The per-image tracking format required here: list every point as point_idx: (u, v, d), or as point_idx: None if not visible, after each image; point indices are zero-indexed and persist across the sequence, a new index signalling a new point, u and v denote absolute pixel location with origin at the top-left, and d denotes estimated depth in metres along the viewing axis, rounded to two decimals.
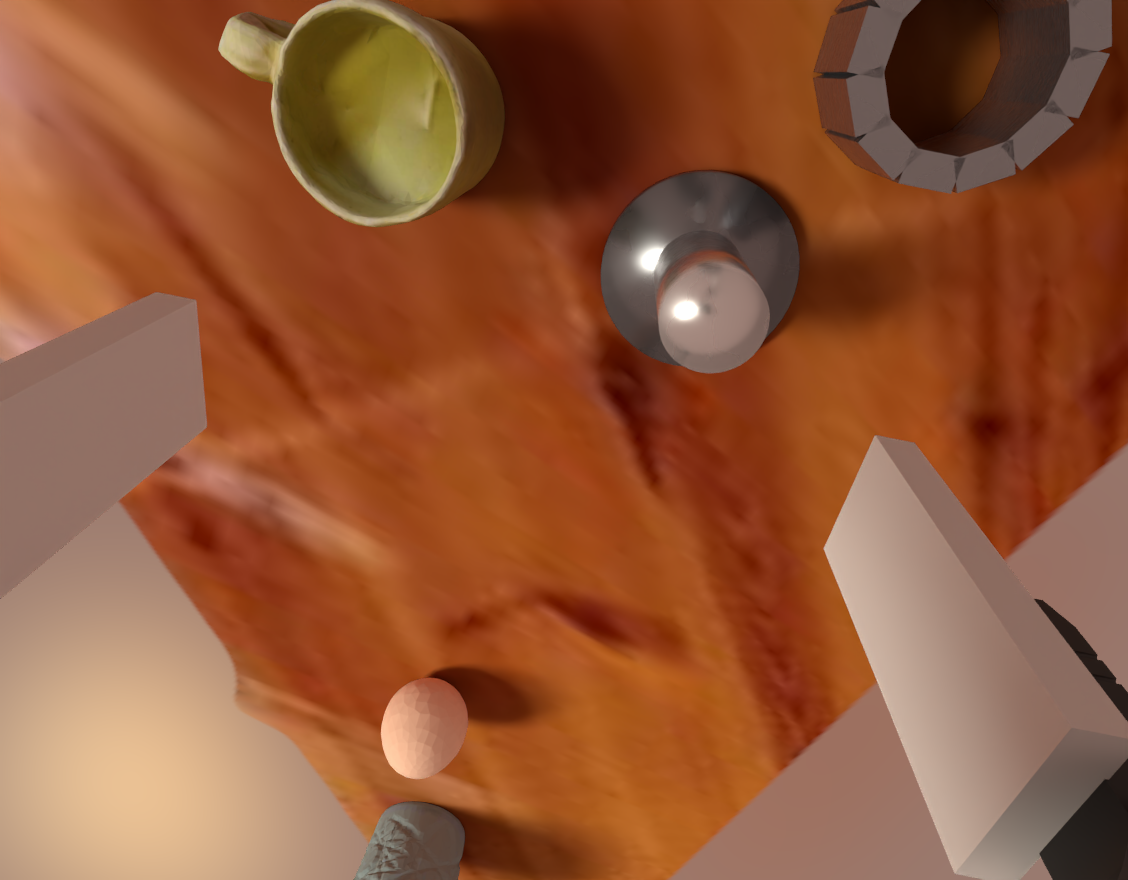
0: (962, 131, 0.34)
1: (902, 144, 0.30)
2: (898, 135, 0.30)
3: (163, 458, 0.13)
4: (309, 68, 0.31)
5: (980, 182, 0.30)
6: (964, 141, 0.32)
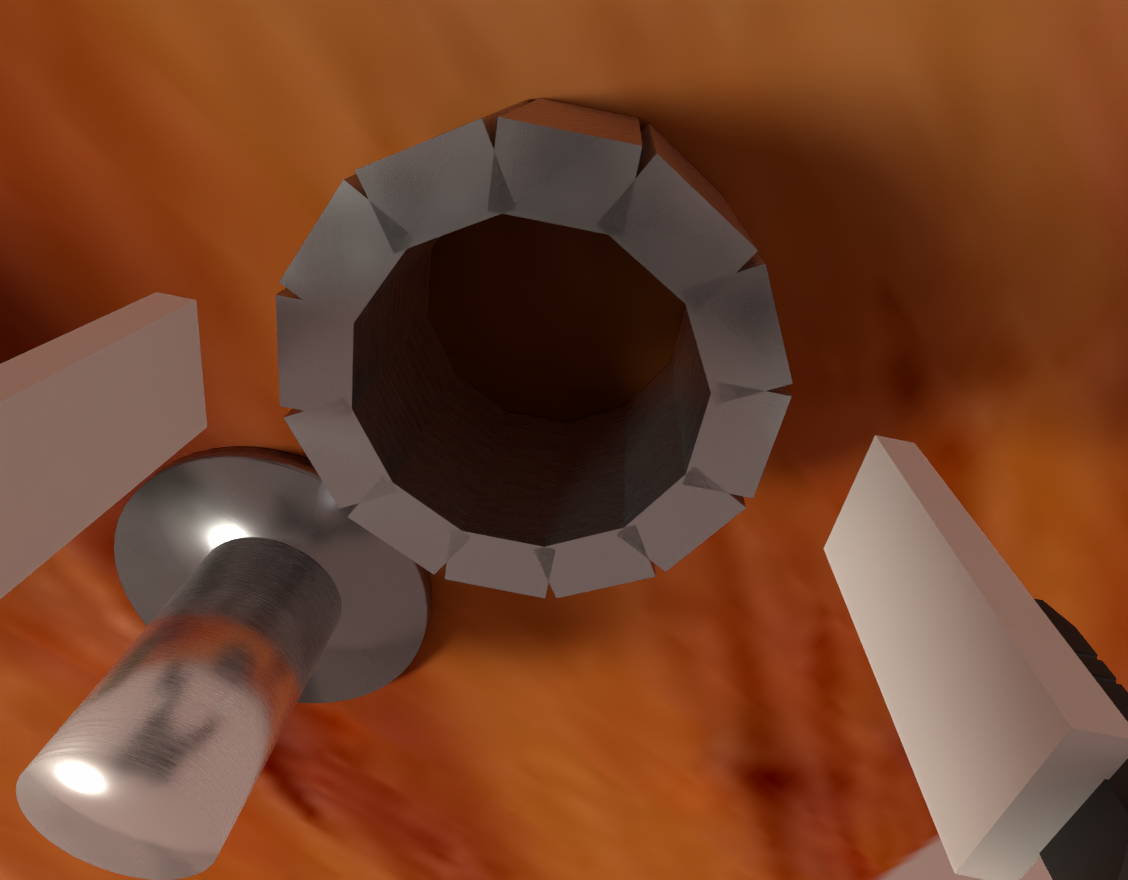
0: (627, 424, 0.19)
1: (430, 523, 0.15)
2: (417, 509, 0.15)
3: (163, 458, 0.13)
4: None
5: (593, 585, 0.16)
6: (601, 470, 0.17)
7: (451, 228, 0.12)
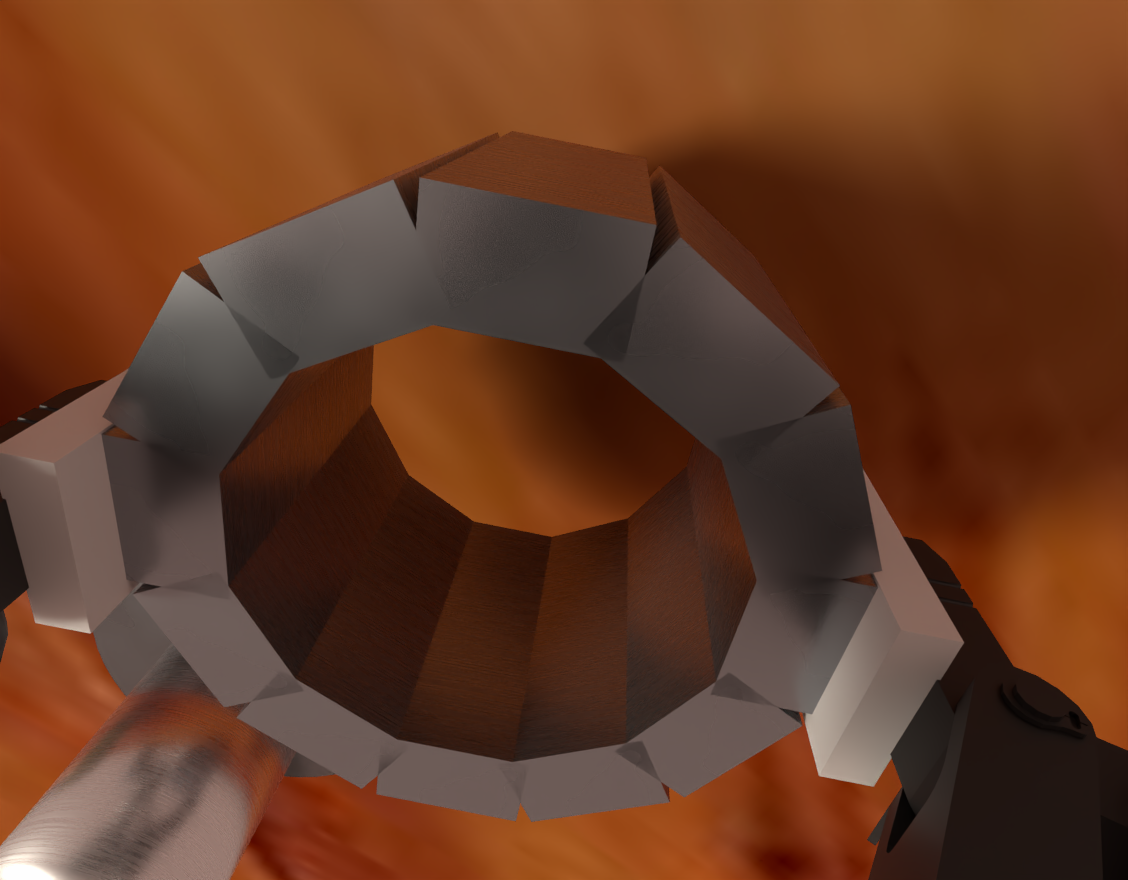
0: (630, 551, 0.15)
1: (353, 728, 0.11)
2: (333, 712, 0.11)
3: None
4: None
5: (583, 809, 0.11)
6: (595, 626, 0.13)
7: (355, 345, 0.08)
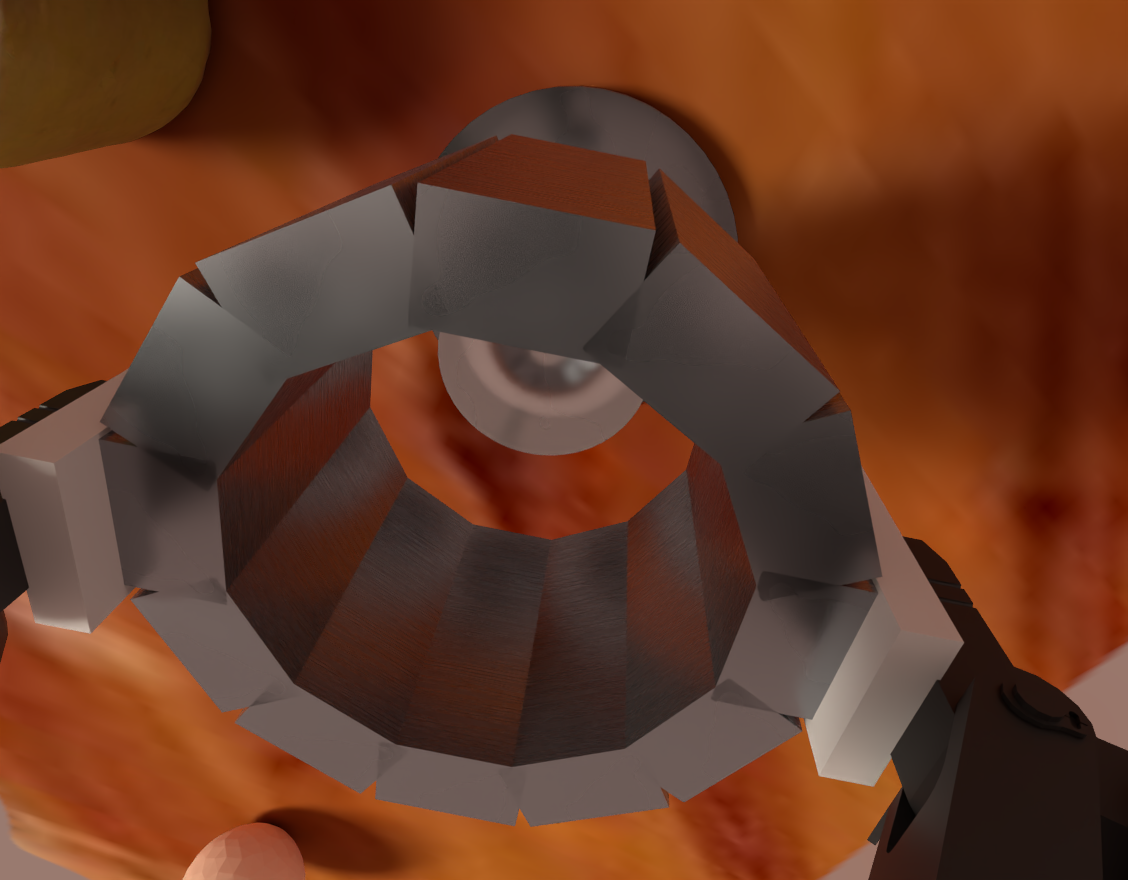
0: (630, 554, 0.14)
1: (351, 733, 0.11)
2: (331, 717, 0.11)
3: None
4: None
5: (582, 815, 0.11)
6: (595, 630, 0.13)
7: (353, 350, 0.08)
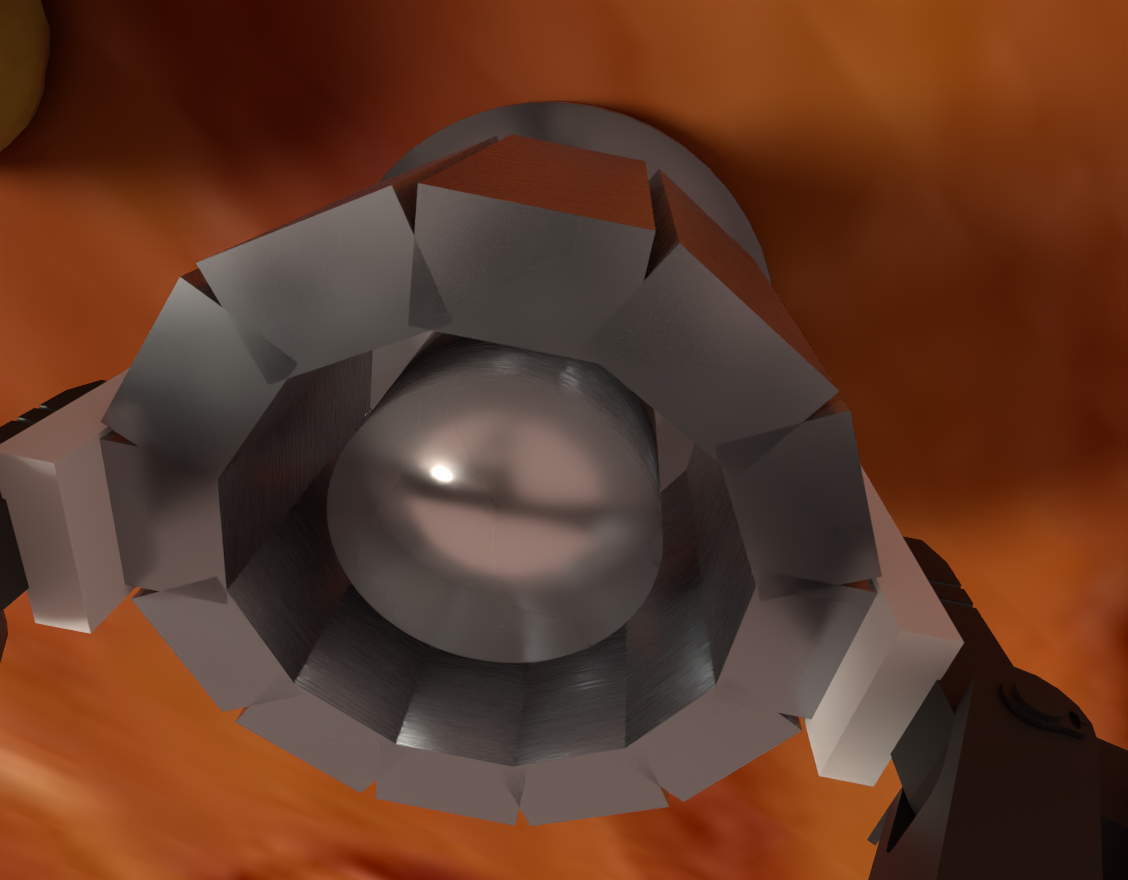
0: None
1: (352, 733, 0.11)
2: (332, 717, 0.11)
3: None
4: None
5: (582, 814, 0.11)
6: None
7: (354, 350, 0.08)
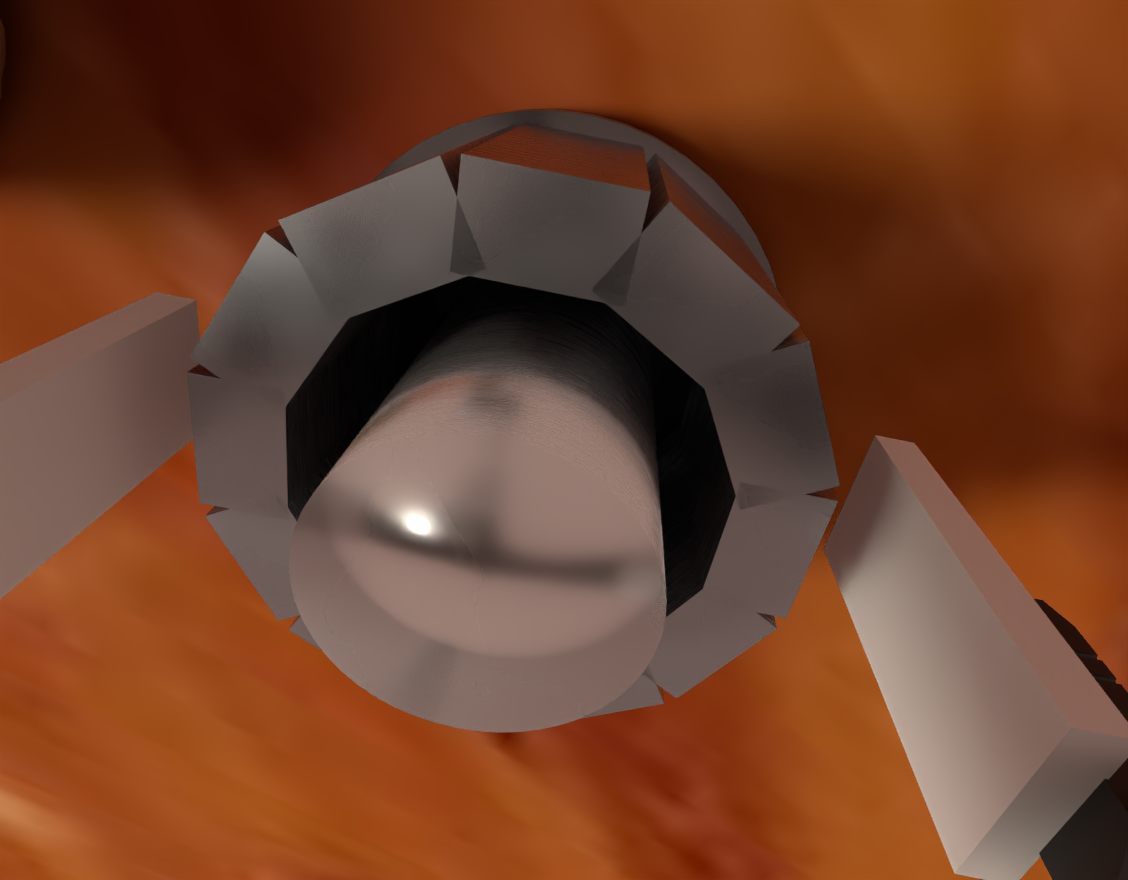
0: None
1: None
2: None
3: (163, 458, 0.13)
4: None
5: None
6: None
7: (404, 293, 0.09)
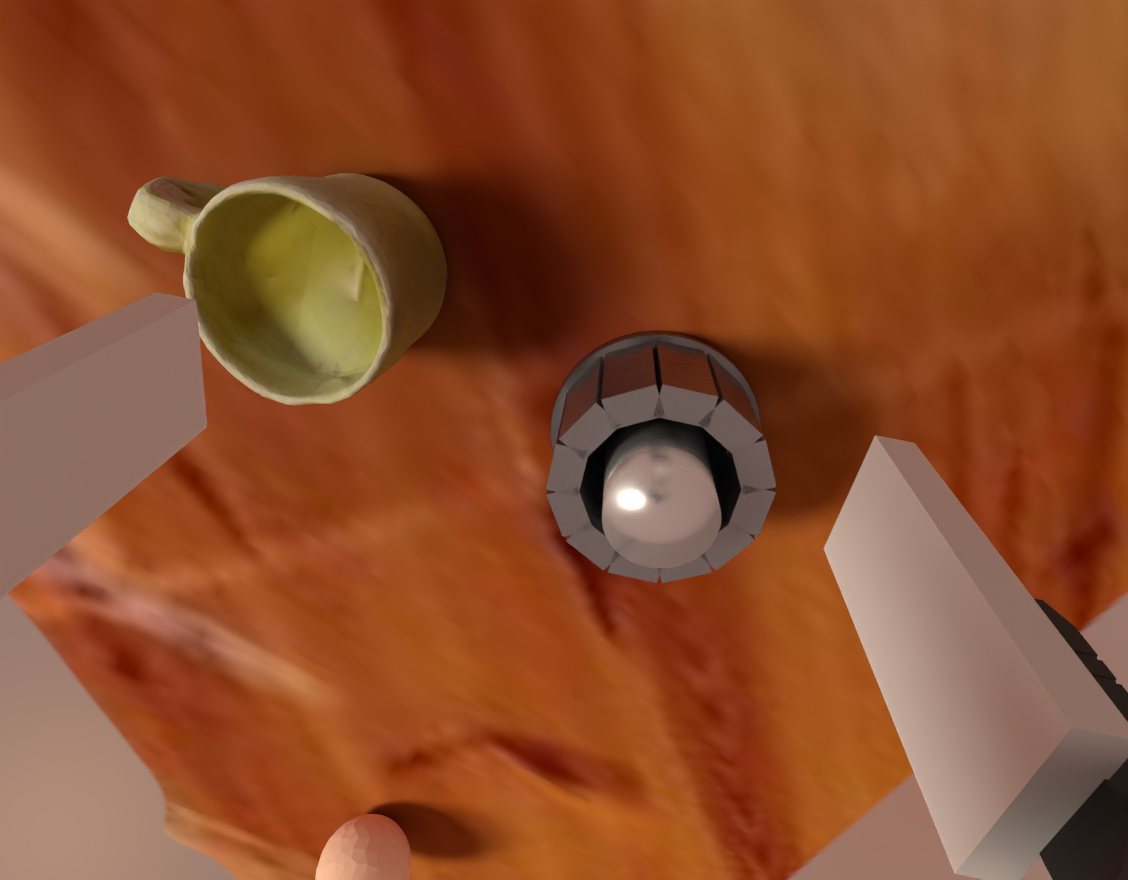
0: None
1: (606, 544, 0.32)
2: (601, 538, 0.32)
3: (163, 458, 0.13)
4: (227, 238, 0.29)
5: (681, 576, 0.33)
6: None
7: (637, 422, 0.29)
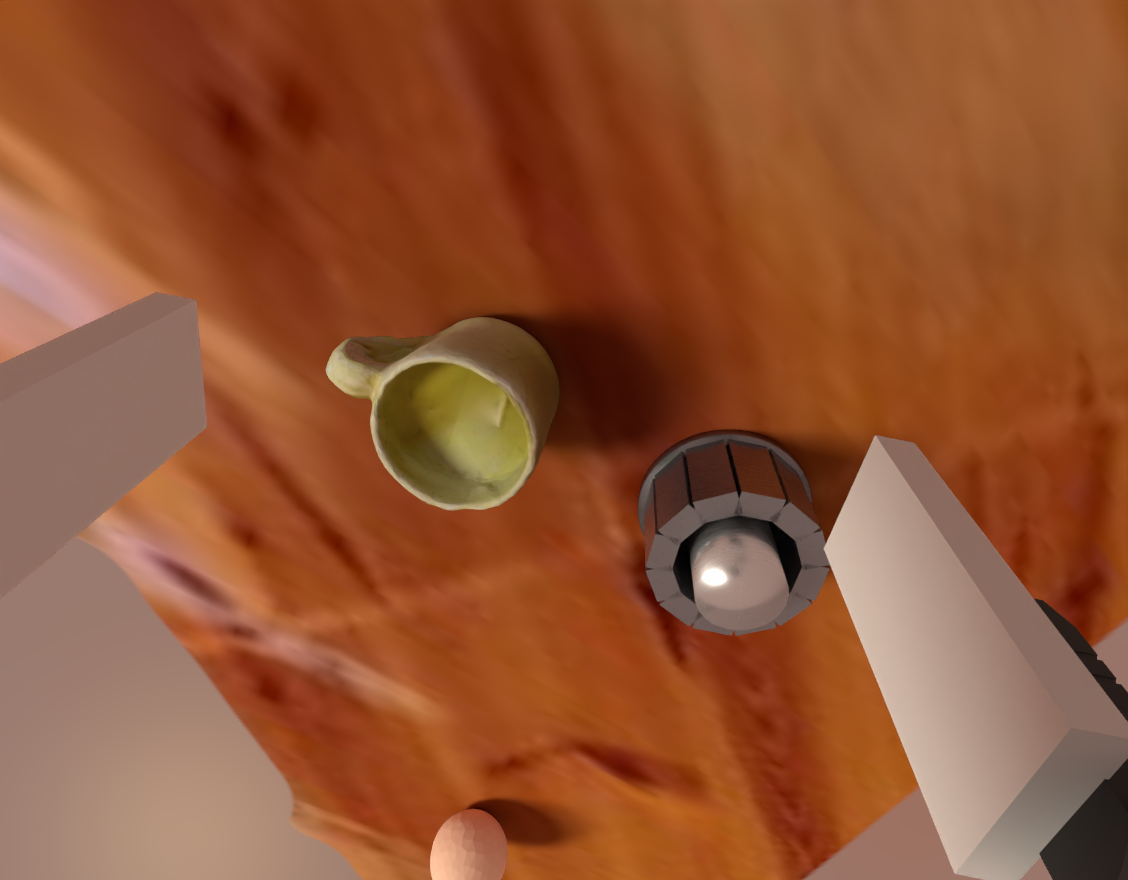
0: None
1: (692, 607, 0.41)
2: (688, 602, 0.41)
3: (163, 458, 0.13)
4: (401, 384, 0.37)
5: (751, 630, 0.41)
6: None
7: (720, 518, 0.38)
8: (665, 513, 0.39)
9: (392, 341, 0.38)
